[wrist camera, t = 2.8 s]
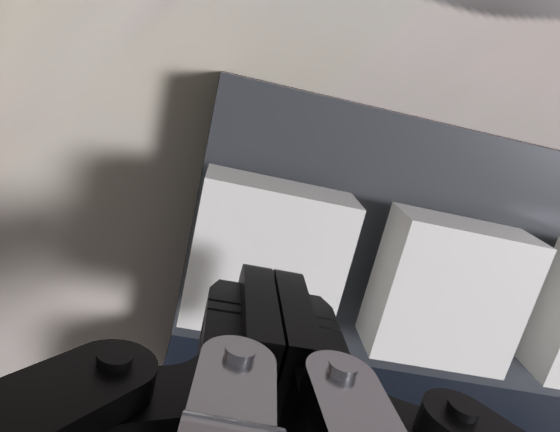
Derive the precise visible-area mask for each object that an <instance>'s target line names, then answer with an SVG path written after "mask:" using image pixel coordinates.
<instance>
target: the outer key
mask: <svg viewBox="0 0 560 432" xmlns="http://www.w3.org/2000/svg"><path fill="white" fill-rule="evenodd" d="M365 214H366V210H365V208H364V207H363V206H362V205H361V204H360V203H359V201H358V200H357V199H356V198H355V197H354V195H353V194H352V193H349V192H344V191H340V190H335V189H330V188H325V187H320V186H316V185H311V184H306V183H301V182H296V181H292V180H287V179H282V178H277V177H273V176H268V175H263V174H258V173H253V172H249V171H244V170H239V169H234V168H229V167H225V166H220V165H215V164H210V163H209V166H208V169H207V172H206V175H205V178H204V184H203V189H202V194H201V199H200V205H199V210H198V215H197V220H196V226H195V231H194V236H193V241H192V247H191V252H190V257H189V262H188V268H187V273H186V278H185V283H184V289H183V294H182V299H181V304H180V310H179V315H178V320H177V325H176V327H180V328H186V329H192V330H198V331H201V328H202V323H203V318H204V313H205V308H206V303H207V298H208V293H209V288H210V287H211V286H212V285H213V284H214V283H215V282H217V281H218V280H219V279H221V280H227V281H233V282H238V281H239V277H240V273H241V269H242V266H243V264H248V265H254V266H260V267H266V268H271V269H273V270H274V269H277V270H283V271H289V272H295V273H300V274H303V276H304V279H305V282H306V285H307V289H308V292H309V294H311V295H316V296H321V297H322V298H323V299H324V300H325V301H326V302H327V303H328V304H329V305H330V306H331V307H332V308H333V311H334V313H335V316H336V315H337V311H338V308H339V304H340V301H341V297H342V294H343V290H344V287H345V283H346V280H347V276H348V273H349V270H350V266H351V263H352V259H353V256H354V252H355V249H356V245H357V242H358V238H359V235H360V231H361V228H362V224H363V221H364V217H365Z"/></svg>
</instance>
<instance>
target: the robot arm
mask: <svg viewBox="0 0 560 432" xmlns="http://www.w3.org/2000/svg"><path fill="white" fill-rule="evenodd" d="M0 432H526V431H524V430H522V429H521V428H519V427H518V426H516V425H515V424H513V423H512V422H510V421H508V420H507V419H505V418H504V417H502V416H501V415H499V414H498V413H496V412H494V411H493V410H491V409H490V408H488V407H487V406H485V405H484V404H482V403H480V402H479V401H477V400H475V399H474V398H472V397H470V396H468V395H466V394H463V393H461V392H458V391H455V390H451V389H446V388H433V389H430V390H428V391H426V392H425V394H424V395H423V398H422V401H421V403H420V406H418V405H415V404H412V403H409V402H406V401H403V400H401V399H398V398H395V397H392V396H390V395H387V393H386V392H385V390H384V388H383V386H382V384H381V382H380V381H379V379H378V377H377V375H376V374H375V372H374V371H373V370H372V369H371V367H369V366H368V365H367V364H366V363H364V362H363V361H361V360H360V359H358V358H356V357H354V356H352V355H350V352H349V349H348V347H347V344H346V342H345V339H344V336H343V334H342V331H340V326H339V323H338V321H337V318H336V316H335V313H334V311H333V308H332V307H331V306H330V305H329V304H328V303H327V302H326V301H325V300H324V299H323V298H322V297H321V296H316V295H311V294H309V292H308V289H307V285H306V282H305V279H304V276H303V274H300V273H295V272H289V271H283V270H277V269H274V270H273V269H271V268H266V267H260V266H254V265H248V264H243V266H242V269H241V273H240V277H239V281H238V282H233V281H227V280H221V279H219V280H218V281H217V282H215V283H214V284H213V285H212V286H211V287H210V288H209V293H208V298H207V303H206V308H205V313H204V318H203V323H202V328H201V333H200V338H199V343H198V350H197V356H195V357H194V358H192V359H190V360H188V361H186V362H183V363H179V364H175V365H165V366H158V362H157V359H156V357H155V355H154V354H153V353H152V352H151V351H150V350H148V349H147V348H145V347H144V346H142V345H139V344H137V343H134V342H131V341H126V340H118V339H106V340H99V341H94V342H91V343H88V344H85V345H82V346H80V347H77V348H75V349H72V350H70V351H67V352H64V353H62V354H59V355H57V356H54V357H52V358H49V359H47V360H44V361H42V362H39V363H36V364H34V365H31V366H29V367H26V368H24V369H21V370H19V371H16V372H13V373H11V374H8V375H6V376H3V377H1V378H0Z"/></svg>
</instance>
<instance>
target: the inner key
mask: <svg viewBox="0 0 560 432" xmlns="http://www.w3.org/2000/svg"><path fill="white" fill-rule="evenodd" d="M554 248H555V249H556V250H557V251H556V254H555V256H554V259H553V261H552V264H551V266H550V268H549V271H548V273H547V276H546V278H545V281H544V283H543V286H542V288H541V290H540V293H539V295H538V298H537V300H536V303H535V305H534V308H533V310H532V313H531V315H530V317H529V320H528V322H527V325H526V327H525V330H524V332H523V335H522V337H521V339H520V342H519V344H518V347H517V349H516V352H515V354H514V356H515V357H516V358H517V359H518V361H519V362H520V363H521V364H522V365H523V366H524V367H525V368H526V369H527V370H528V371H529V372H530V373H531V375H532V376H533V377H534V378H535V379H536V380H537V381H538V382H539V383H540V384H541V385H542V386H543V387H547V388H553V389H559V390H560V237H558V239H557V242H556V244H555V247H554Z"/></svg>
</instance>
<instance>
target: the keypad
mask: <svg viewBox="0 0 560 432" xmlns="http://www.w3.org/2000/svg"><path fill="white" fill-rule="evenodd" d="M209 163H210V164H215V165H220V166H225V167H229V168H234V169H239V170H244V171H249V172H253V173H258V174H263V175H268V176H273V177H277V178H282V179H287V180H292V181H296V182H301V183H306V184H311V185H316V186H320V187H325V188H330V189H335V190H340V191H344V192H349V193H352V194H353V195H354V197H355V198H356V199H357V200H358V201H359V203H360V204H361V205H362V206H363V207H364V208H365V210H366V214H365V217H364V221H363V224H362V228H361V231H360V235H359V238H358V242H357V245H356V249H355V252H354V256H353V259H352V263H351V266H350V270H349V273H348V276H347V280H346V283H345V287H344V290H343V294H342V297H341V301H340V304H339V308H338V311H337V315H336V318H337V321H338V323H339V326H340V331H342V334H343V336H344V339H345V342H346V344H347V347H348V349H349V352H350V355H352V356H354V357H356V358H358V359H360V360H361V361H363V362H364V363H366V364H367V365H368V366H369V367H371V369H372V370H373V371H374V372H375V374H376V375H377V377H378V379H379V381H380V382H381V384H382V386H383V388H384V390H385V392H386V393H387V395H390V396H392V397H395V398H398V399H401V400H403V401H406V402H409V403H412V404H415V405H418V406H420V403H421V401H422V398H423V395H424V394H425V392H426V391H428V390H430V389H433V388H446V389H451V390H455V391H458V392H461V393H463V394H466V395H468V396H470V397H472V398H474V399H475V400H477V401H479V402H480V403H482V404H484V405H485V406H487V407H488V408H490V409H491V410H493V411H494V412H496V413H498V414H499V415H501V416H502V417H504V418H505V419H507V420H508V421H510V422H512V423H513V424H515V425H516V426H518V427H519V428H521V429H522V430H524V431H526V432H560V390H559V389H553V388H547V387H543V386H542V385H541V384H540V383H539V382H538V381H537V380H536V379H535V378H534V377H533V376H532V375H531V373H530V372H529V371H528V370H527V369H526V368H525V367H524V366H523V365H522V364H521V363H520V362H519V361H518V359H517V358H516V357H515V356H514V357H513V359H512V361H511V364H510V366H509V369H508V371H507V374H506V376H505V379H504V380H498V379H492V378H486V377H480V376H474V375H468V374H462V373H456V372H449V371H443V370H437V369H431V368H425V367H419V366H413V365H406V364H400V363H394V362H388V361H382V360H376V359H370V358H369V357H368V355H367V353H366V350H365V348H364V346H363V343H362V341H361V339H360V336H359V334H358V332H357V329H356V327H355V324H356V321H357V318H358V314H359V311H360V308H361V304H362V301H363V298H364V294H365V291H366V288H367V285H368V281H369V278H370V275H371V271H372V268H373V265H374V261H375V258H376V255H377V251H378V248H379V245H380V241H381V238H382V235H383V232H384V228H385V225H386V222H387V218H388V215H389V212H390V208H391V205H392V202H397V203H402V204H406V205H411V206H416V207H421V208H426V209H430V210H435V211H440V212H445V213H449V214H454V215H459V216H464V217H469V218H473V219H478V220H483V221H488V222H493V223H497V224H502V225H507V226H512V227H516V228H521V229H523V230H525V231H526V232H528V233H530V234H531V235H533V236H535V237H536V238H538V239H540V240H541V241H543V242H545V243H546V244H548V245H550V246H551V247H553V248H554V247H555V244H556V242H557V239H558V237H560V150H557V149H553V148H548V147H544V146H540V145H536V144H531V143H527V142H523V141H519V140H514V139H510V138H506V137H502V136H497V135H493V134H489V133H485V132H480V131H476V130H472V129H467V128H463V127H459V126H455V125H450V124H446V123H442V122H438V121H433V120H429V119H425V118H421V117H416V116H412V115H408V114H404V113H399V112H395V111H391V110H387V109H382V108H378V107H374V106H370V105H365V104H361V103H357V102H352V101H348V100H344V99H340V98H335V97H331V96H327V95H323V94H318V93H314V92H310V91H306V90H301V89H297V88H293V87H289V86H284V85H280V84H276V83H272V82H267V81H263V80H259V79H255V78H250V77H246V76H242V75H237V74H233V73H229V72H225V71H222V72H221V74H220V79H219V84H218V89H217V95H216V100H215V105H214V111H213V116H212V121H211V127H210V132H209V137H208V143H207V148H206V153H205V159H204V164H203V169H202V174H201V180H200V185H199V190H198V196H197V201H196V206H195V212H194V217H193V222H192V228H191V233H190V238H189V244H188V249H187V254H186V259H185V265H184V270H183V275H182V281H181V286H180V291H179V297H178V302H177V307H176V313H175V318H174V323H173V329H172V334H171V338H170V342H169V346H168V350H167V354H166V357H165V361H164V365H163V366H165V365H175V364H179V363H183V362H186V361H188V360H190V359H192V358H194V357H195V356H197V350H198V343H199V338H200V333H201V331H198V330H192V329H186V328H180V327H176V325H177V320H178V315H179V310H180V304H181V299H182V294H183V289H184V283H185V278H186V273H187V268H188V262H189V257H190V252H191V247H192V241H193V236H194V231H195V226H196V220H197V215H198V210H199V205H200V199H201V194H202V189H203V184H204V178H205V175H206V172H207V169H208V166H209Z"/></svg>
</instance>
